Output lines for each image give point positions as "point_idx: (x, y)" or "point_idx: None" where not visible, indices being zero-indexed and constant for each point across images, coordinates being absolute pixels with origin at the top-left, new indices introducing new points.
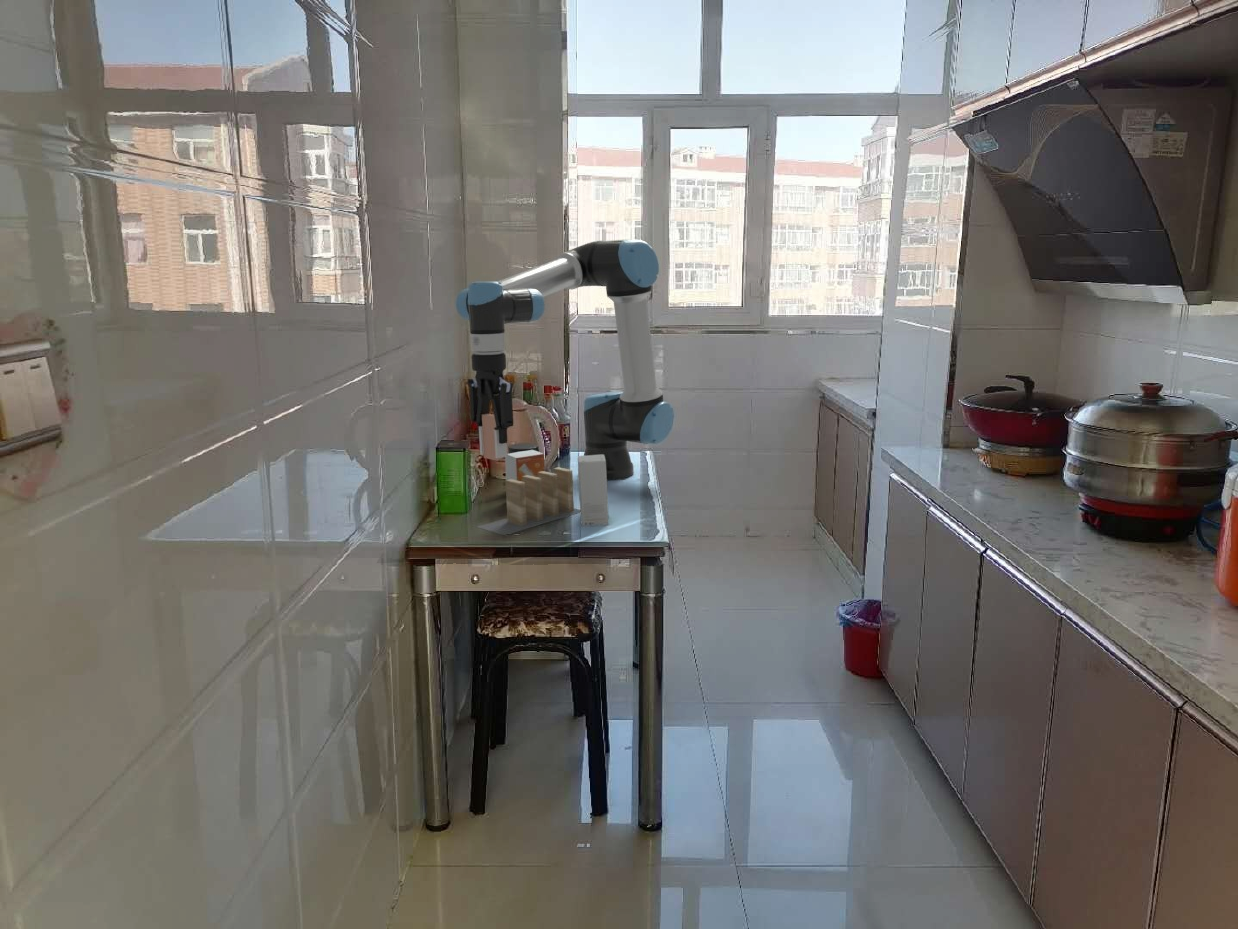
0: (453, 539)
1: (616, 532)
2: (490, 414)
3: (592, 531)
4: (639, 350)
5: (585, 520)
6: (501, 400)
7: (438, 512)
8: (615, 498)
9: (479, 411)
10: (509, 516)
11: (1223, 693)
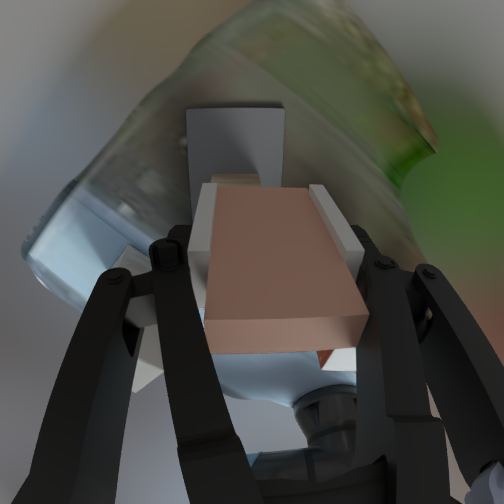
0: (266, 34)
1: (80, 261)
2: (314, 344)
3: (105, 243)
4: None
5: (122, 255)
6: (65, 426)
7: (432, 149)
8: (231, 361)
9: (388, 320)
10: (252, 178)
11: None
